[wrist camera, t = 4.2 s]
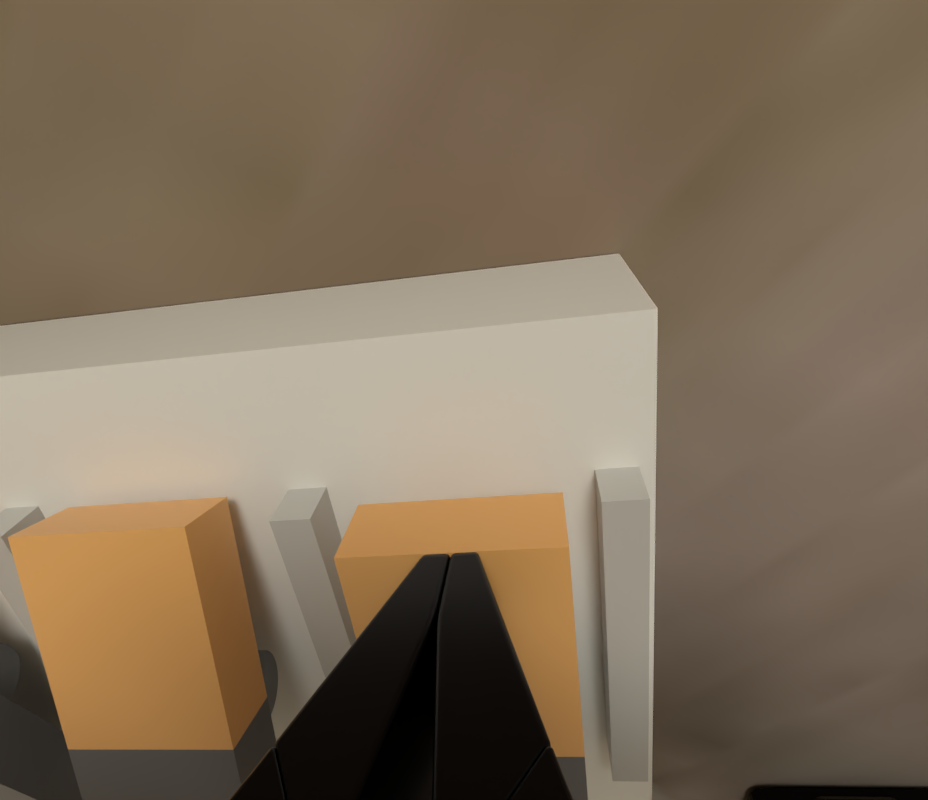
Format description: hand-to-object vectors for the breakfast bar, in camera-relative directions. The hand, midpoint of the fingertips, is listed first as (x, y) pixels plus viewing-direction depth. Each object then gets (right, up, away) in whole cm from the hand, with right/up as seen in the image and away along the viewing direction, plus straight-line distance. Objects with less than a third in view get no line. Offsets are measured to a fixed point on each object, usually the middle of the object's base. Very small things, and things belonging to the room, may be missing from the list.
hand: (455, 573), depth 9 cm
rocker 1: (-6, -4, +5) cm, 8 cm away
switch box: (-5, -1, +8) cm, 10 cm away
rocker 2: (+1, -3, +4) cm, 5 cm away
